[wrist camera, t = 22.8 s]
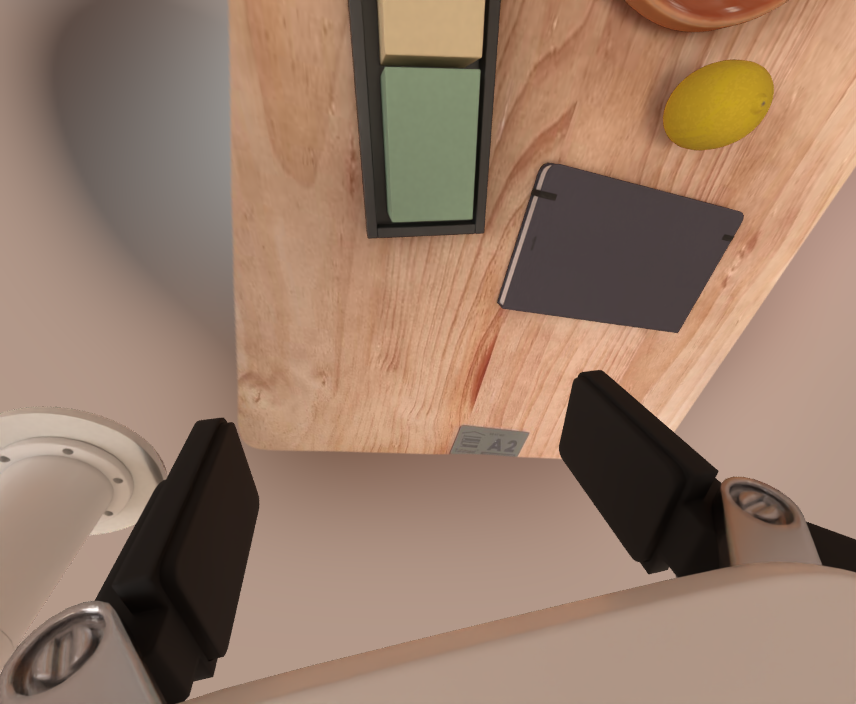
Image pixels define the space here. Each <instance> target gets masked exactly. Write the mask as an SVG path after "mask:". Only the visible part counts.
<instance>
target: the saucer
mask: <svg viewBox="0 0 856 704" xmlns="http://www.w3.org/2000/svg"><path fill="white" fill-rule="evenodd" d="M625 1H626V2H627V4H628V5H630V6H631V7H632V8H633V9H634V10H636V11H637V12H638V13H640V14H641V15H642V16H644V17H645V18H647V19H649V20H650V21H652V22H654V23H656V24H658V25H661V26H663V27H666V28H669V29H673V30H678V31H685V32H704V31H712V30H716V29H721V28H725V27H730V26H734V25H738V24H741V23H745V22H748V21H750V20H753V19H756V18H758V17H760V16H762V15H764V14H766V13H769V12H770V11H772V10H774V9H776V8H778V7H779V6H781V5H783V4H784V3H786V2H787V1H789V0H625Z"/></svg>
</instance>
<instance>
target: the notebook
mask: <svg viewBox="0 0 856 704" xmlns="http://www.w3.org/2000/svg"><path fill="white" fill-rule="evenodd" d="M743 217H744V215H743V213H742V212H740V211H736V210H733V209H729V208H725V207H721V206H717V205H714V204H710V203H706V202H702V201H698V200H695V199H691V198H687V197H683V196H679V195H676V194H672V193H668V192H664V191H660V190H657V189H653V188H649V187H645V186H641V185H637V184H634V183H630V182H626V181H622V180H618V179H615V178H611V177H607V176H603V175H599V174H596V173H592V172H588V171H584V170H580V169H577V168H573V167H569V166H565V165H561V164H554V163H547V164H544V165H543V166H542V167H541V168H540V170H539V173H538V175H537V178H536V182H535V185H534V188H533V190H532V193H531V197H530V200H529V204H528V207H527V210H526V213H525V216H524V219H523V222H522V226H521V229H520V232H519V235H518V238H517V241H516V244H515V248H514V251H513V254H512V257H511V260H510V263H509V266H508V270H507V273H506V276H505V279H504V282H503V285H502V288H501V292H500V295H499V298H498V301H497V303H498V304H499V305H500V306H501V308H502V309H509V310H516V311H523V312H531V313H538V314H545V315H552V316H559V317H566V318H573V319H581V320H588V321H595V322H602V323H609V324H616V325H624V326H631V327H638V328H645V329H652V330H659V331H667V332H674V333H678V332H679V331H680V329H681V327H682V325H683V324H684V322H685V320H686V318H687V317H688V315H689V313H690V312H691V310H692V308H693V306H694V305H695V303H696V301H697V299H698V298H699V296H700V294H701V292H702V291H703V289H704V287H705V286H706V284H707V282H708V280H709V279H710V277H711V275H712V273H713V272H714V270H715V268H716V266H717V265H718V263H719V261H720V260H721V258H722V256H723V254H724V253H725V251H726V249H727V247H728V246H729V244H730V242H731V241H732V239H733V238H734V235H735V234H736V232H737V230H738V228H739V227H740V225H741V223H742V221H743Z"/></svg>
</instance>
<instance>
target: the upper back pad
mask: <svg viewBox="0 0 856 704" xmlns="http://www.w3.org/2000/svg"><path fill="white" fill-rule="evenodd" d="M484 12H485V0H377V14H378V33H379V52H380V65H384V66H419V67H454V68H465V67H466V66H468V65H470V64H471V63H473V62H475V61H476V60H478V59H480V58H482V48H483V30H484Z"/></svg>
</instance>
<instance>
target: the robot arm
mask: <svg viewBox="0 0 856 704" xmlns="http://www.w3.org/2000/svg"><path fill="white" fill-rule="evenodd" d="M559 452H560V455H561V458H562V459H563V461H564V462H565V464H566V465H567V466H568V468H569V469H570V471H571V472H572V473H573V475H574V476H575V478H576V479H577V481H578V482H579V483H580V485H581V486H582V488H583V489H584V490H585V492H586V493H587V495H588V496H589V498H590V499H591V500H592V502H593V503H594V505H595V506H596V508H597V509H598V510H599V512H600V513H601V515H602V516H603V517H604V519H605V520H606V522H607V523H608V525H609V526H610V527H611V529H612V530H613V532H614V533H615V534H616V536H617V538H618V539H619V540H620V542H621V543H622V545H623V546H624V547H625V549H626V550H627V552H628V553H629V555H630V556H631V557H632V558H633V559H634V560H635V561H637V562H640V563H641V564H642V566H643V567H644V569H645V570H646V571H647V573H648V574H652V573H657V572H661V571H665V570H668V568H669V567H670V568H671V569H672V571H673V572H674V573H675V574H676V578H674V579H670V580H665V581H661V582H657V583H652V584H648V585H644V586H639V587H635V588H631V589H627V590H622V591H618V592H614V593H610V594H605V595H601V596H597V597H593V598H588V599H584V600H580V601H576V602H571V603H567V604H563V605H559V606H554V607H550V608H546V609H542V610H538V611H534V612H529V613H525V614H521V615H517V616H513V617H509V618H504V619H500V620H496V621H492V622H488V623H484V624H479V625H476V626H471V627H467V628H463V629H459V630H455V631H450V632H446V633H442V634H438V635H434V636H430V637H426V638H422V639H418V640H413V641H410V642H406V643H401V644H398V645H393V646H389V647H385V648H381V649H377V650H373V651H369V652H365V653H361V654H357V655H353V656H348V657H344V658H340V659H337V660H332V661H328V662H324V663H320V664H316V665H312V666H308V667H304V668H300V669H297V670H293V671H289V672H286V673H282V674H278V675H274V676H270V677H267V678H263V679H259V680H256V681H251V682H248V683H244V684H240V685H237V686H233V687H229V688H225V689H222V690H219V691H215V692H212V693H209V694H206V695H203V696H200V697H197V698H193V699H190V700H187V701H185V700H186V699H187V698H188V697H189V695H190V692H191V688H192V684H193V681H198V680H202V679H206V678H210V677H213V675H214V671H215V667H216V662H217V659H218V658H220V657H224V655H225V654H226V652H227V649H228V645H229V640H230V636H231V632H232V627H233V623H234V618H235V614H236V609H237V605H238V600H239V596H240V591H241V587H242V582H243V578H244V573H245V569H246V565H247V560H248V556H249V551H250V547H251V542H252V537H253V533H254V528H255V524H256V520H257V515H258V511H259V496H258V492H257V489H256V486H255V483H254V480H253V477H252V474H251V471H250V468H249V466H248V462H247V460H246V457H245V453H244V451H243V448H242V445H241V442H240V439H239V436H238V433H237V430H236V427H235V424H234V423H232V422H230V423H227V421H226V420H225V419H224V418H216V419H207V420H201V421H197V422H196V423H195V425H194V427H193V429H192V431H191V432H190V434H189V436H188V439H187V440H186V442H185V444H184V446H183V448H182V450H181V452H180V454H179V456H178V458H177V460H176V461H175V463H174V465H173V467H172V469H171V471H170V473H169V475H168V477H167V479H166V480H163V481H161V482H160V483H159V484H158V485H157V487H156V488H155V489H154V491H153V493H152V495H151V497H150V499H149V501H148V502H147V504H146V506H145V508H144V510H143V512H142V514H141V515H140V517H139V519H138V521H137V523H136V525H135V527H134V529H133V530H132V532H131V534H130V536H129V538H128V540H127V542H126V544H125V545H124V547H123V549H122V551H121V553H120V555H119V556H118V558H117V560H116V562H115V564H114V566H113V568H112V569H111V571H110V573H109V575H108V577H107V579H106V581H105V582H104V584H103V586H102V588H101V590H100V592H99V594H98V596H97V597H96V599H95V601H90V602H83V603H80V604H78V605H75V606H72V607H69V608H67V609H65V610H63V611H62V612H60V613H58V614H57V615H55V616H53V617H51V618H50V619H48V620H47V621H46V622H44V623H43V624H42V625H40V626H39V627H38V628H37V629H35V630H34V631H33V632H32V633H31V634H30V635H29V636H28V637H27V638H26V639H25V640H24V641H23V642H22V643H21V644H20V645H19V646H18V644H19V643H20V641H21V640H22V638H23V636H24V635H25V634H26V632H27V630H28V629H29V627H30V626H31V624H32V623H33V621H34V620H35V618H36V617H37V615H38V613H39V612H40V610H41V609H42V607H43V606H44V604H45V603H46V601H47V599H48V598H49V597H50V595H51V593H52V592H53V590H54V589H55V587H56V586H57V584H58V583H59V581H60V579H61V578H62V576H63V575H64V573H65V572H66V570H67V569H68V567H69V566H70V564H71V562H72V561H73V559H74V558H75V556H76V555H77V553H78V552H79V550H80V549H81V547H82V546H83V544H84V542H85V541H86V539H87V538H88V536H89V535H90V533H91V532H92V530H93V529H94V527H95V526H96V524H97V523H100V522H103V521H106V520H109V519H111V518H112V517H114V516H116V515H118V514H119V513H120V512H121V511H122V510H123V509H124V508H125V507H126V505H127V504H128V502H129V501H130V499H131V497H132V495H133V491H134V483H133V478H132V476H131V474H130V472H129V470H128V469H127V468H126V467H125V466H124V464H123V463H122V462H120V461H119V460H118V459H117V458H116V457H114V456H113V455H111V454H110V453H108V452H106V451H105V450H103V449H100V448H98V447H96V446H94V445H91V444H88V443H85V442H81V441H78V440H72V439H67V438H57V437H38V438H30V439H25V440H20V441H18V442H15V443H12V444H9V445H8V446H6V447H4V448H3V449H1V450H0V672H1V670H2V669H3V670H2V672H1V674H0V704H856V540H855V539H852V538H850V537H847V536H844V535H842V534H839V533H836V532H833V531H830V530H828V529H825V528H822V527H820V526H817V525H814V524H811V523H809V522H806V521H805V518H804V516H803V514H802V512H801V510H800V509H799V507H798V506H797V505H796V504H795V503H794V502H793V501H792V500H791V499H790V498H789V497H787V496H786V495H784V494H783V493H781V492H780V491H779V490H777V489H775V488H773V487H771V486H770V485H768V484H765V483H763V482H760V481H758V480H755V479H750V478H746V477H731V478H728V479H725V480H724V481H723V482H722V483H721V482H719V481H718V480H717V479H716V478H715V477H716V475H717V473H718V470H717V469H715V468H714V467H713V466H712V465H711V464H710V463H708V462H707V461H706V460H705V459H704V458H703V457H702V456H701V455H699V454H698V453H697V452H696V451H695V450H694V449H692V448H691V447H690V446H689V445H688V444H687V443H686V442H684V441H683V440H682V439H681V438H680V437H679V436H677V435H676V434H675V433H674V432H673V431H672V430H671V429H669V428H668V427H667V426H666V425H665V424H664V423H662V422H661V421H660V420H659V419H658V418H657V417H656V416H654V415H653V414H652V413H651V412H650V411H649V410H647V409H646V408H645V407H644V406H643V405H642V404H641V403H639V402H638V401H637V400H636V399H635V398H634V397H632V396H631V395H630V394H629V393H628V392H627V391H626V390H624V389H623V388H622V387H621V386H620V385H619V384H617V383H616V382H615V381H614V380H613V379H612V378H611V377H609V376H608V375H607V374H606V373H605V372H603V371H602V370H596V371H588V372H582V373H580V374H579V375H578V378H575V379H574V381H573V384H572V389H571V394H570V398H569V403H568V407H567V412H566V417H565V421H564V426H563V430H562V435H561V440H560V444H559ZM17 646H18V647H17ZM16 647H17V648H16ZM15 649H16V650H15ZM14 650H15V651H14ZM10 656H11V657H10Z"/></svg>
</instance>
